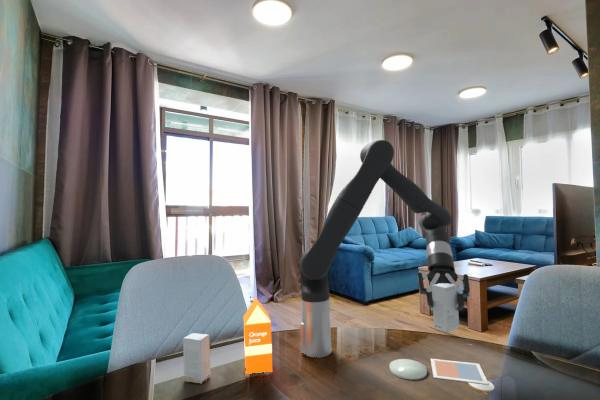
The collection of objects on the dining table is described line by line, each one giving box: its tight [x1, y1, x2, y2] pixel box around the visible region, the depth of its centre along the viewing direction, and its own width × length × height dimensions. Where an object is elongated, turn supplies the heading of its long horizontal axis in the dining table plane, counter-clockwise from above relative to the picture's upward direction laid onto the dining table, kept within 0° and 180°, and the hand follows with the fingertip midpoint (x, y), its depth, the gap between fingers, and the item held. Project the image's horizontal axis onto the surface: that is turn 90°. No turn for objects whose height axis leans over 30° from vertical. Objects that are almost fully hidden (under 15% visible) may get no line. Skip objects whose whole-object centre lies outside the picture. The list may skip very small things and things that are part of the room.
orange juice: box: [243, 297, 273, 375], centre depth 92 cm, size 8×9×20 cm
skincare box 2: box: [432, 283, 460, 333], centre depth 87 cm, size 6×4×12 cm
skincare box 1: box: [182, 332, 211, 381], centre depth 87 cm, size 6×4×12 cm
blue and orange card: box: [430, 358, 489, 386], centre depth 86 cm, size 13×11×1 cm
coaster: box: [389, 358, 428, 381], centre depth 88 cm, size 10×10×1 cm
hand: (446, 307), depth 86 cm, fingers closed on skincare box 2, 6 cm apart
